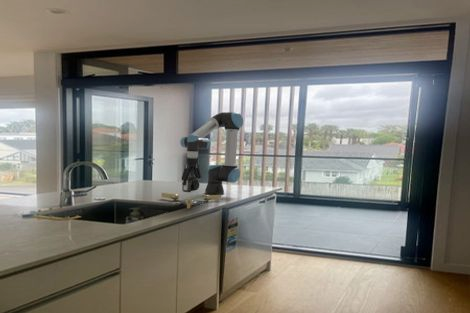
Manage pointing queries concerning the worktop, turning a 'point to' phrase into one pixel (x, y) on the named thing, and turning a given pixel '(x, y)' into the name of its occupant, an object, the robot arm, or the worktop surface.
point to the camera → (191, 184)
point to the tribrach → (197, 202)
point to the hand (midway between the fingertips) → (191, 189)
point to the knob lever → (170, 196)
